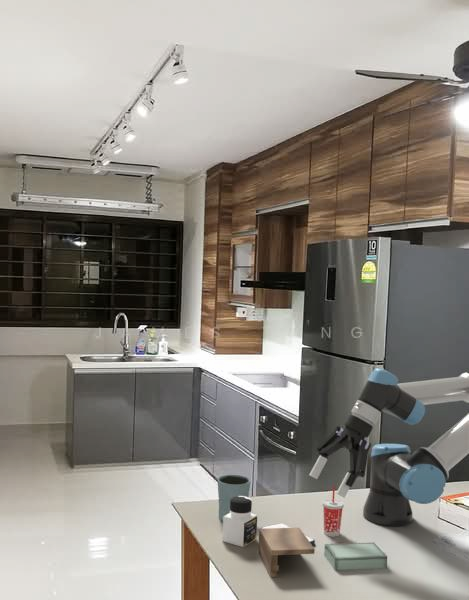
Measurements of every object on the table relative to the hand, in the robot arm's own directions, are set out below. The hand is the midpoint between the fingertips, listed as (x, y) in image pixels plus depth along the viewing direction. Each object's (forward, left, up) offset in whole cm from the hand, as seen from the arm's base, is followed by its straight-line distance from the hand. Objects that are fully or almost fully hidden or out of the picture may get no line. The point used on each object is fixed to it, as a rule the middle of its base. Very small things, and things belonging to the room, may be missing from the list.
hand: (326, 486), depth 184 cm
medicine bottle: (+24, -3, -16) cm, 29 cm away
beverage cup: (-4, -6, -16) cm, 18 cm away
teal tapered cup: (+23, -20, -16) cm, 34 cm away
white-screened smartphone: (+10, -4, -17) cm, 20 cm away
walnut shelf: (+15, +13, -16) cm, 25 cm away
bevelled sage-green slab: (-4, +13, -16) cm, 21 cm away
